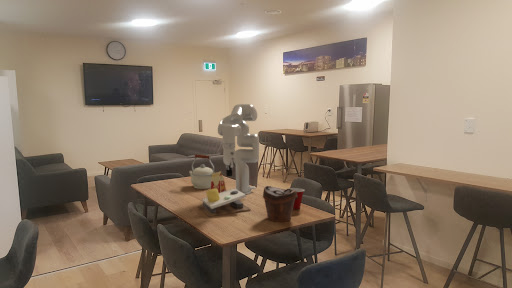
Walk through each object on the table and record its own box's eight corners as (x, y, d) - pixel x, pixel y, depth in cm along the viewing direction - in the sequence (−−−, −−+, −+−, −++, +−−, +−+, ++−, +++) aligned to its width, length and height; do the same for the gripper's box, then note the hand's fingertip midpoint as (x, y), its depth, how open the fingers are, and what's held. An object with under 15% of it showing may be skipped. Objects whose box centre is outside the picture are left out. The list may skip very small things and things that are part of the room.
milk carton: (227, 199, 241) (227, 170, 239) (220, 203, 233) (219, 172, 230) (215, 198, 245) (215, 169, 243) (208, 201, 237) (207, 171, 234)
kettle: (221, 186, 279) (221, 154, 276) (206, 191, 264) (205, 157, 261) (197, 182, 292) (196, 152, 290) (181, 186, 277) (180, 154, 274)
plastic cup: (307, 207, 224) (307, 188, 222) (300, 211, 215) (300, 191, 213) (291, 204, 229) (291, 186, 228) (283, 208, 220) (283, 189, 219)
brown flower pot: (303, 221, 196) (303, 189, 194) (268, 225, 191) (268, 192, 189) (290, 212, 213) (290, 182, 211) (258, 215, 208) (258, 185, 206)
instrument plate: (234, 190, 231) (232, 179, 230) (245, 196, 215) (243, 185, 213) (202, 201, 222) (199, 189, 221) (211, 209, 206) (208, 196, 205)
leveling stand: (237, 202, 234) (237, 196, 234) (250, 210, 216) (250, 204, 216) (198, 207, 223) (198, 201, 222) (209, 216, 205) (209, 210, 205)
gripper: (239, 146, 209) (239, 177, 211) (230, 144, 222) (230, 173, 225) (227, 147, 206) (227, 179, 208) (218, 144, 219) (219, 174, 222)
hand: (229, 175), depth 216 cm, fingers closed
